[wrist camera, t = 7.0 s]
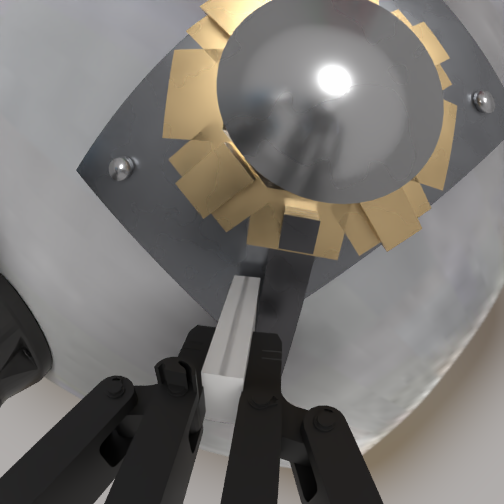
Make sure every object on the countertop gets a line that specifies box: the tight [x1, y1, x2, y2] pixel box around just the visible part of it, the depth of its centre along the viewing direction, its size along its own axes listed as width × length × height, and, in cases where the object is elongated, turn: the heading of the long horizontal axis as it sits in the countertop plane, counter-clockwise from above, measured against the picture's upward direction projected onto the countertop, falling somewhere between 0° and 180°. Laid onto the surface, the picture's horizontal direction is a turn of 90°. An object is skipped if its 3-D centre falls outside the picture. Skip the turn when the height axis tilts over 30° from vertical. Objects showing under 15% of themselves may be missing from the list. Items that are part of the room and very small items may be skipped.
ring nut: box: [162, 0, 457, 376], centre depth 11 cm, size 18×11×4 cm, turn 172°
